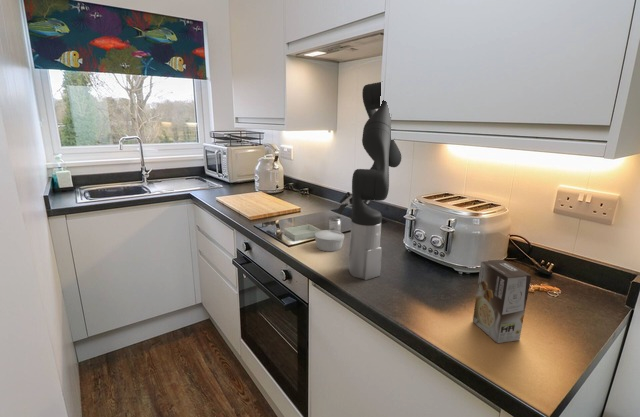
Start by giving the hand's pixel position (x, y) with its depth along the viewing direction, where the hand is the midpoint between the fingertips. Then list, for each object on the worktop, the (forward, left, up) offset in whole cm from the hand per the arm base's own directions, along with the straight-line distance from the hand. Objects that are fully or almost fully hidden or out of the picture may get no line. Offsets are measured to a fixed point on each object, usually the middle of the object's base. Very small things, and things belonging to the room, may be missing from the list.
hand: (344, 215), depth 143 cm
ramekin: (-9, +14, -9) cm, 18 cm away
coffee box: (-73, +10, -9) cm, 74 cm away
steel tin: (0, +5, -8) cm, 10 cm away
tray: (+8, +16, -8) cm, 19 cm away
